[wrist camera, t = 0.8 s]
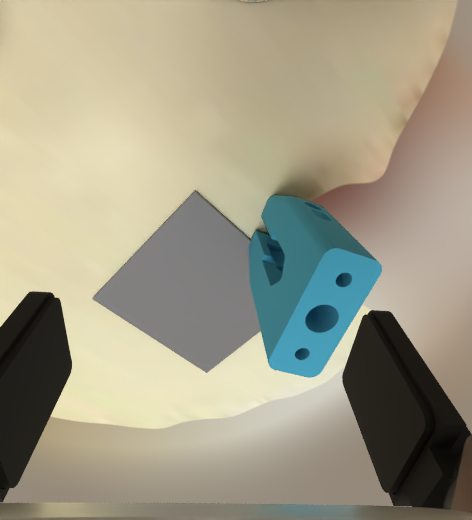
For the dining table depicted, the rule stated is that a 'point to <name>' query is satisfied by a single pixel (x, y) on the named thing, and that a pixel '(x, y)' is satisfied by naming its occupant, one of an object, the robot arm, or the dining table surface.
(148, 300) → the gray square mat
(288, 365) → the block
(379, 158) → the dining table surface
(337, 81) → the dining table surface
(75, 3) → the dining table surface
